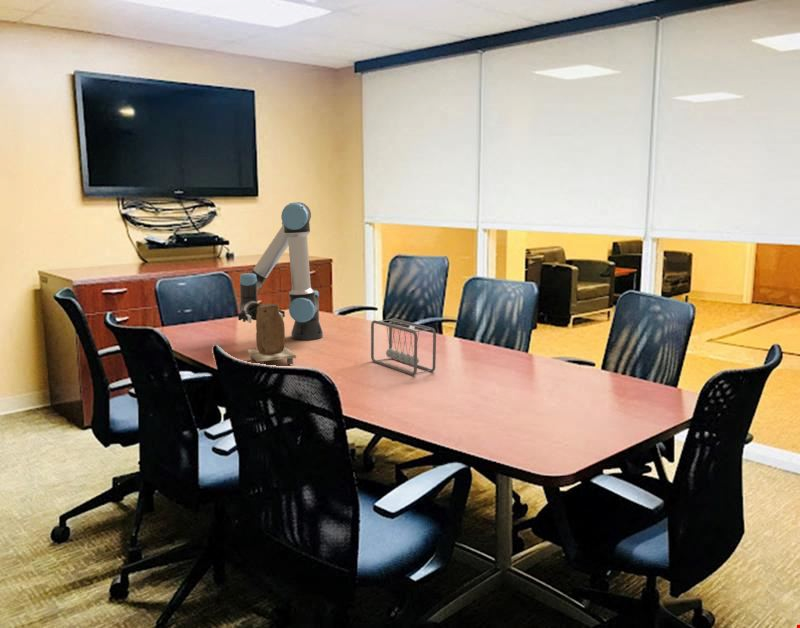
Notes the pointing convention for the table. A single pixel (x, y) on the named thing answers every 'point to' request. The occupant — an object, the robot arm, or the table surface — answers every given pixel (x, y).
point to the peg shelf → (272, 356)
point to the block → (269, 329)
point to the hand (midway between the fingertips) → (266, 318)
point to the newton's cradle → (402, 356)
